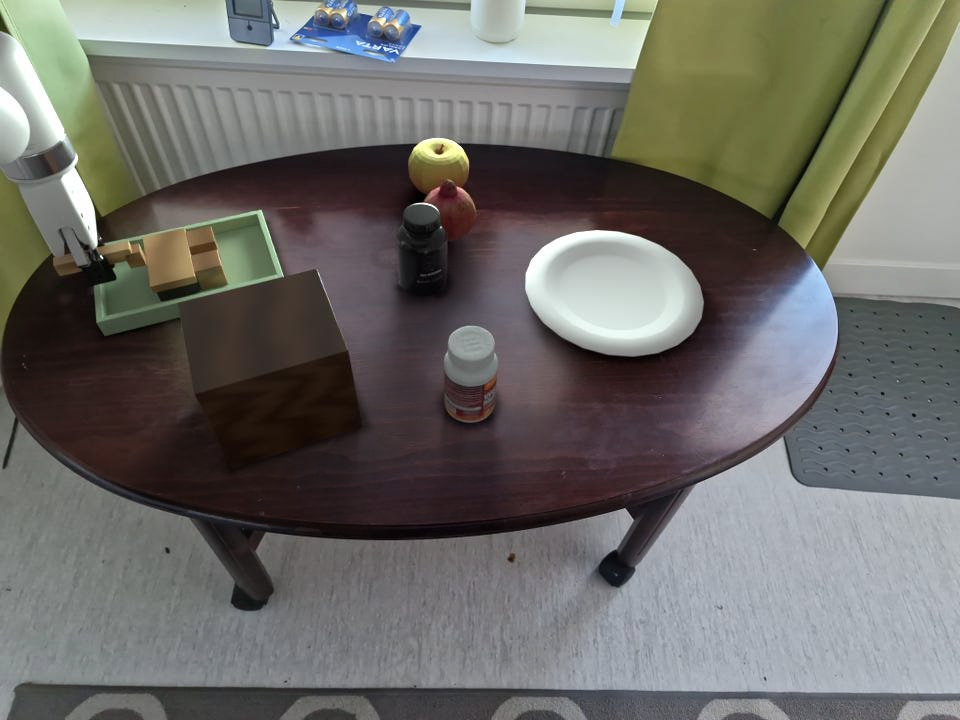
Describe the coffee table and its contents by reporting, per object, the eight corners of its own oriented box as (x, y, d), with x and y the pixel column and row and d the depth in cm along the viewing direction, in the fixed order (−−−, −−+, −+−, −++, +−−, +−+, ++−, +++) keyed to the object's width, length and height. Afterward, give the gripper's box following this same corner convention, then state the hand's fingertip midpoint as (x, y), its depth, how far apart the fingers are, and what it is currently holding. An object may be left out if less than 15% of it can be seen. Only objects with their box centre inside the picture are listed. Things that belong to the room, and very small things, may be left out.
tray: (104, 336, 84) (96, 322, 82) (98, 260, 93) (90, 246, 90) (287, 290, 90) (283, 276, 88) (264, 223, 99) (261, 209, 97)
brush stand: (232, 468, 72) (194, 394, 61) (214, 382, 80) (177, 302, 69) (362, 426, 76) (348, 350, 65) (333, 348, 84) (316, 268, 73)
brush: (191, 245, 94) (176, 209, 89) (202, 293, 88) (187, 257, 83) (74, 272, 90) (52, 236, 85) (77, 324, 84) (53, 289, 79)
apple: (480, 184, 107) (482, 141, 101) (446, 214, 102) (446, 170, 96) (432, 163, 111) (431, 120, 104) (397, 191, 105) (393, 148, 99)
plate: (514, 239, 99) (515, 230, 97) (674, 236, 101) (677, 227, 99) (535, 366, 83) (537, 358, 82) (724, 360, 85) (728, 352, 84)
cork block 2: (202, 290, 89) (194, 271, 86) (198, 274, 91) (190, 255, 88) (228, 284, 90) (221, 265, 87) (223, 268, 92) (217, 249, 89)
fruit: (424, 255, 96) (422, 200, 88) (420, 221, 101) (418, 165, 93) (478, 252, 96) (480, 197, 89) (471, 218, 102) (473, 163, 94)
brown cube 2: (196, 266, 92) (188, 247, 89) (192, 250, 94) (185, 231, 91) (221, 260, 93) (214, 241, 90) (217, 245, 95) (210, 226, 92)
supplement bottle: (430, 306, 89) (428, 238, 80) (389, 287, 91) (383, 219, 82) (456, 277, 93) (457, 209, 84) (416, 259, 95) (413, 191, 86)
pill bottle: (493, 426, 77) (498, 367, 68) (441, 422, 77) (440, 362, 68) (496, 385, 81) (501, 324, 72) (447, 381, 81) (446, 319, 72)
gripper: (-1, 123, 75) (70, 245, 89) (-6, 201, 66) (75, 323, 80) (70, 111, 77) (128, 232, 91) (74, 186, 68) (139, 308, 82)
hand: (103, 274), depth 86 cm, fingers closed on brush
